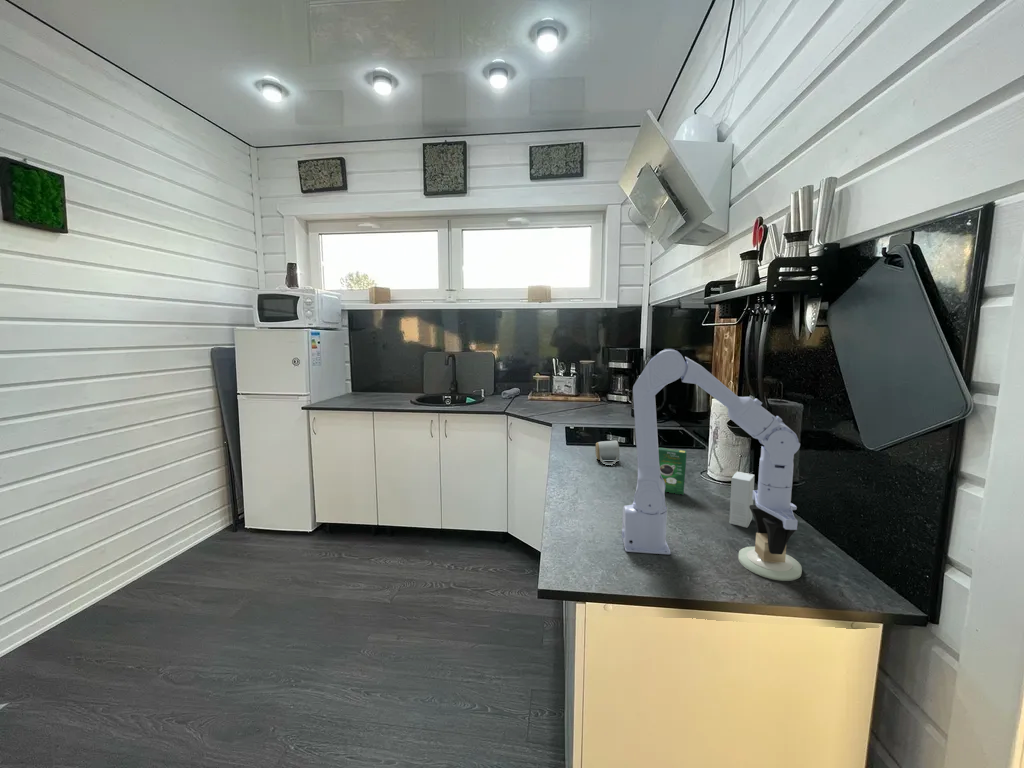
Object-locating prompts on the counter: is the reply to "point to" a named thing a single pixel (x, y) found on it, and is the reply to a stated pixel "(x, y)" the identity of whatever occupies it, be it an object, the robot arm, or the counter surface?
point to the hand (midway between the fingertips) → (770, 546)
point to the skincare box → (741, 499)
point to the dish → (770, 566)
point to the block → (767, 549)
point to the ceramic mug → (607, 451)
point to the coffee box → (673, 469)
